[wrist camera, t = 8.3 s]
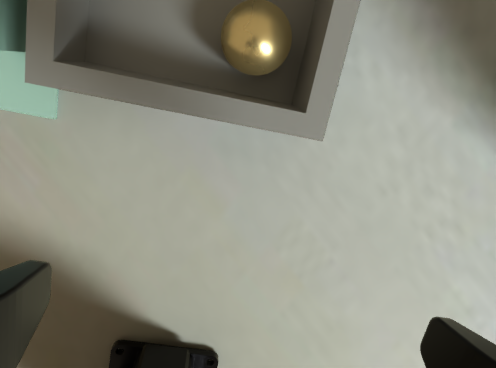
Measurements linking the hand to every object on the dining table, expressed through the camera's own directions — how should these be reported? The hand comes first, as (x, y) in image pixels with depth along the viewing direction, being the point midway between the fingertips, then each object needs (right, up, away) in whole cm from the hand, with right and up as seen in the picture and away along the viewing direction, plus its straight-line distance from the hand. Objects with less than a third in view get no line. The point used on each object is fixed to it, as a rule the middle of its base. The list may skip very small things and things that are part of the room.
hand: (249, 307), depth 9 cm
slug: (0, +10, +9) cm, 13 cm away
